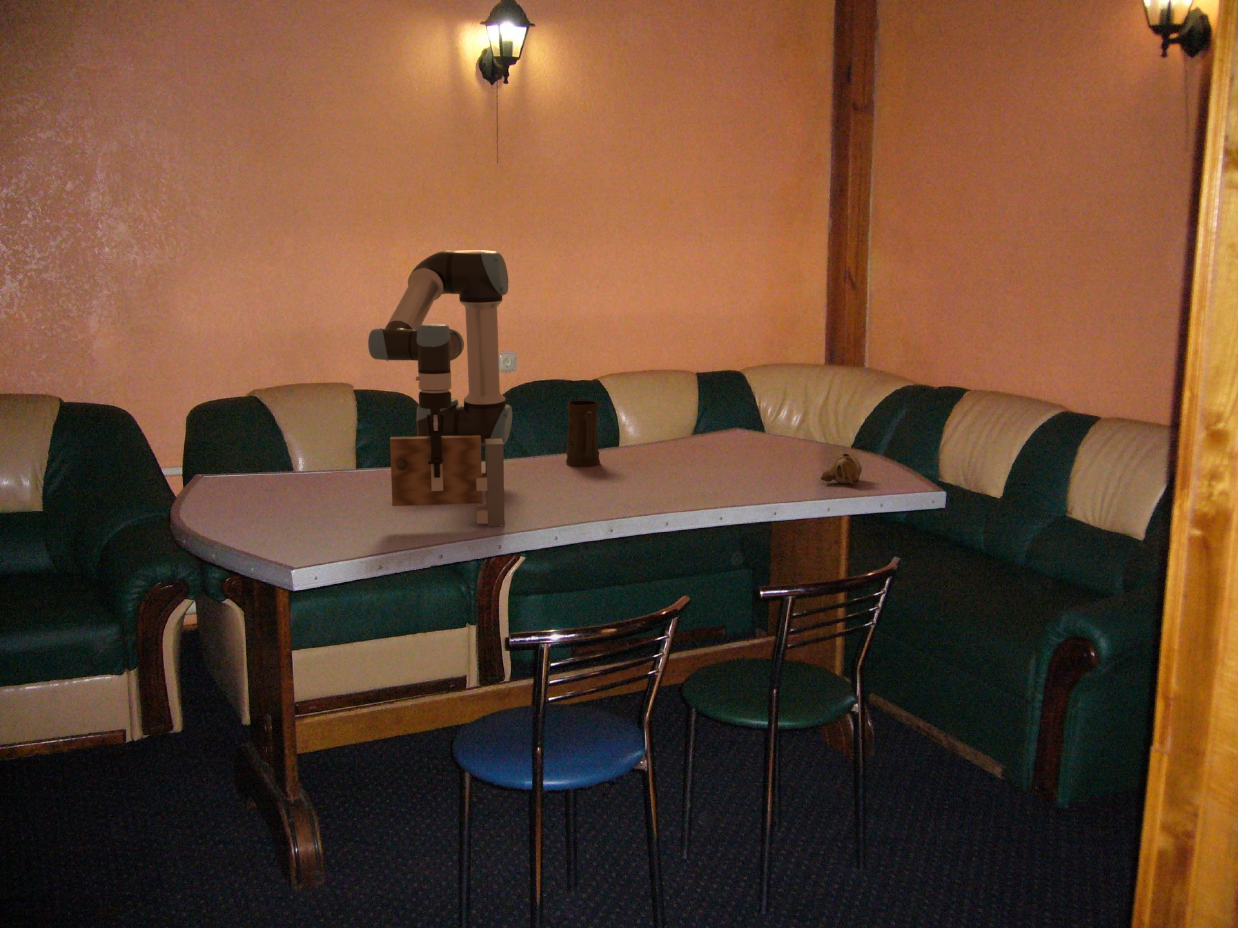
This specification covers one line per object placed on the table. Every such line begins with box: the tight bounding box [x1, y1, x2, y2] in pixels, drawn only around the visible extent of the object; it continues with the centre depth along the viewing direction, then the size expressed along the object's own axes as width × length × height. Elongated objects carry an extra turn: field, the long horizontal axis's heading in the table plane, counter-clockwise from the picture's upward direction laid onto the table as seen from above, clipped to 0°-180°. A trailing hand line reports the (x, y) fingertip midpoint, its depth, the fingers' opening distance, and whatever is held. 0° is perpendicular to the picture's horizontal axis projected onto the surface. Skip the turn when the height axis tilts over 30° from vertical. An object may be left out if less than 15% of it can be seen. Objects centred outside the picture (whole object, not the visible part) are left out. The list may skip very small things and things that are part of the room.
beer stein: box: [565, 399, 601, 468], centre depth 328 cm, size 15×10×20 cm
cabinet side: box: [475, 439, 506, 527], centre depth 257 cm, size 6×8×20 cm
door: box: [389, 435, 483, 507], centre depth 253 cm, size 21×4×16 cm, turn 99°
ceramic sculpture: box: [820, 453, 863, 485], centre depth 307 cm, size 11×9×15 cm
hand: (437, 488), depth 254 cm, fingers closed on door, 3 cm apart
